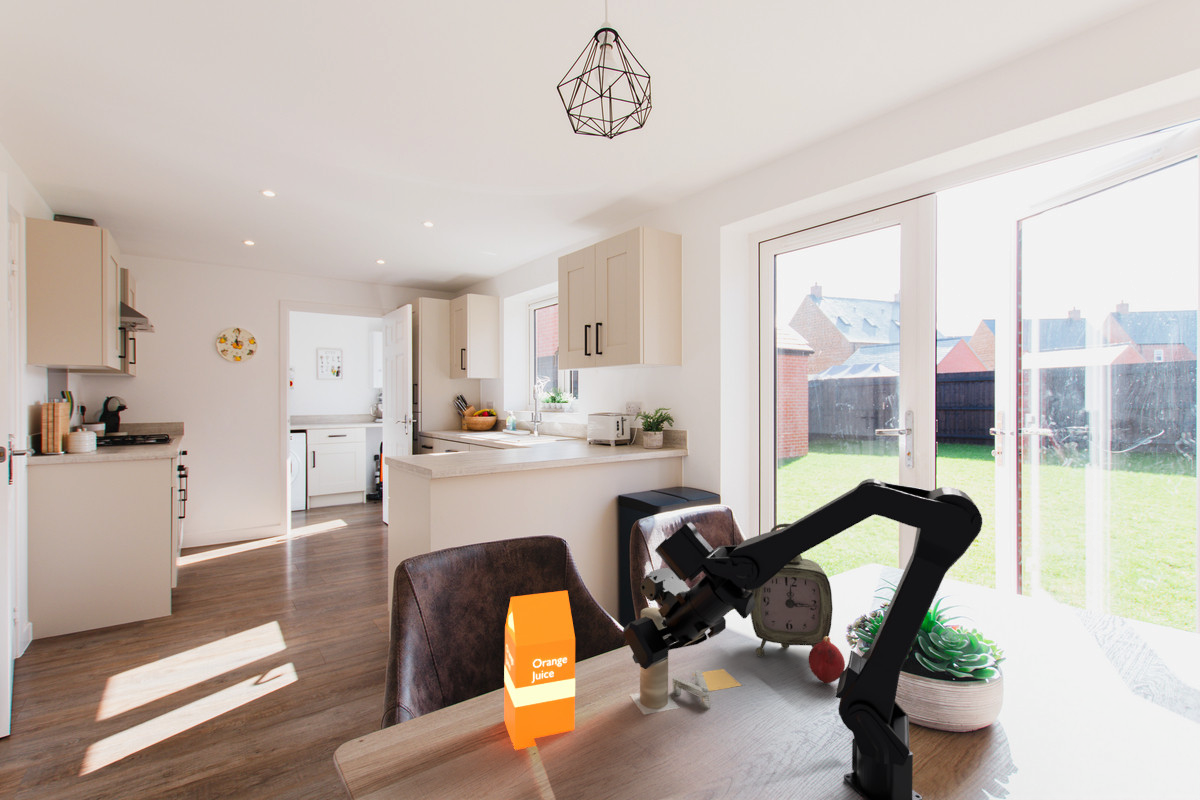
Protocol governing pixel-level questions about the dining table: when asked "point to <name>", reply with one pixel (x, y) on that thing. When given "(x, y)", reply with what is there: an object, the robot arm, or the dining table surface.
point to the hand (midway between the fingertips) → (647, 653)
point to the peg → (654, 672)
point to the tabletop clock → (793, 605)
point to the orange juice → (539, 667)
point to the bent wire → (694, 688)
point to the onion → (826, 661)
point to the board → (713, 681)
